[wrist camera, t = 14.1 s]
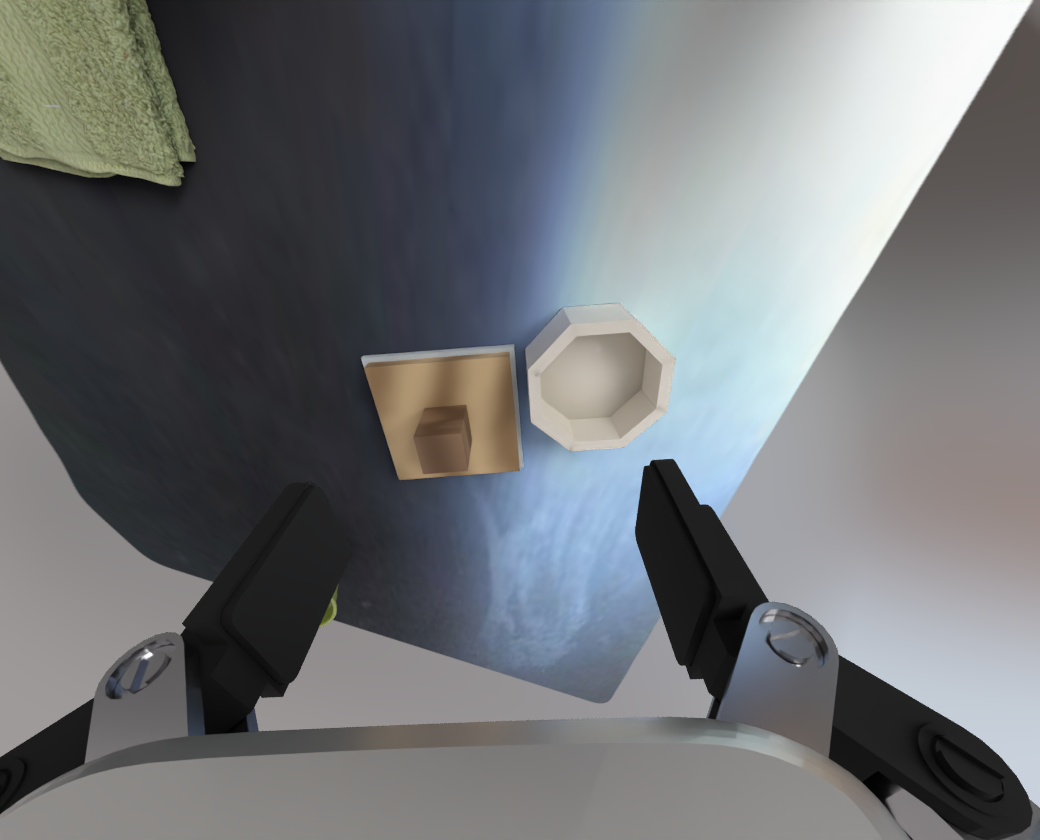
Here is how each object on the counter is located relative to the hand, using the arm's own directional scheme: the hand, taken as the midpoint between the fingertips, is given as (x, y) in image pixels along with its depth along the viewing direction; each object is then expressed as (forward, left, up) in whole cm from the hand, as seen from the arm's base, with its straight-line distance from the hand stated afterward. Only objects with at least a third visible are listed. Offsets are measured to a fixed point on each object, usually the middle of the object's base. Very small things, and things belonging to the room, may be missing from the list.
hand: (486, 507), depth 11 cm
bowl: (-8, +7, -25) cm, 27 cm away
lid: (+6, +11, -24) cm, 27 cm away
